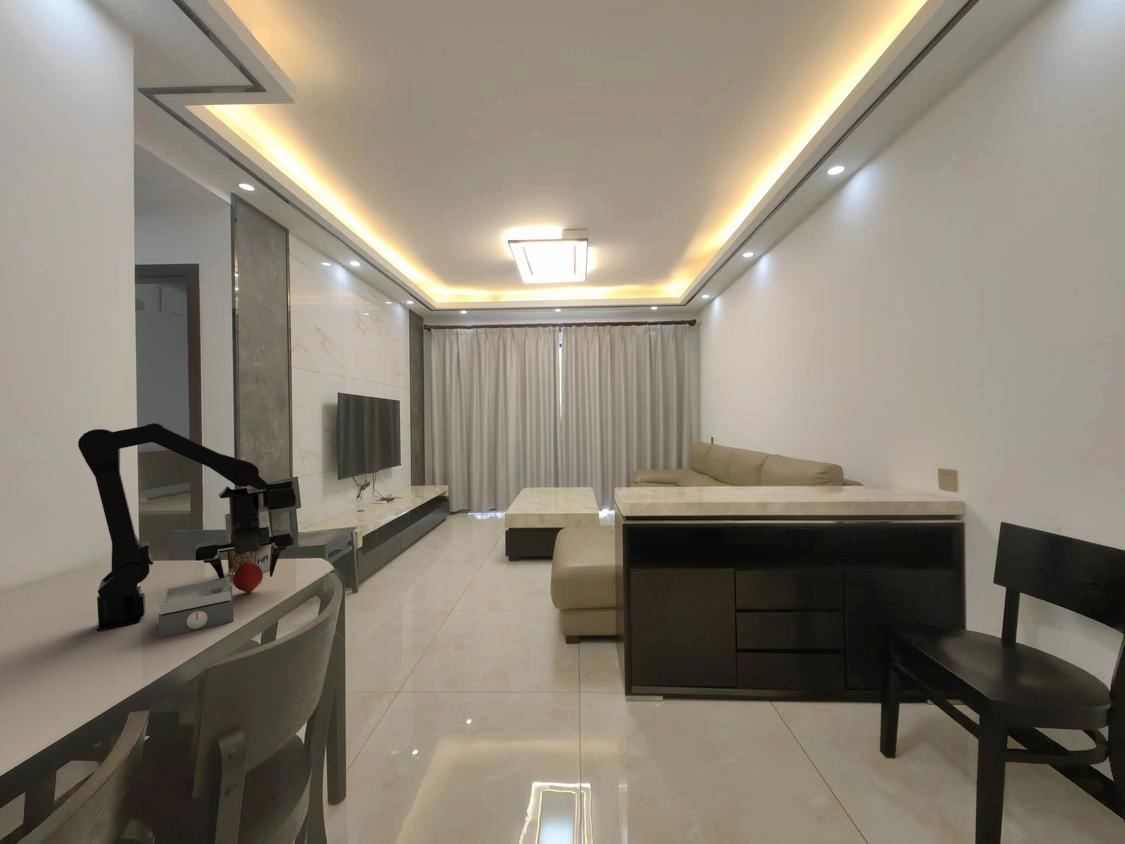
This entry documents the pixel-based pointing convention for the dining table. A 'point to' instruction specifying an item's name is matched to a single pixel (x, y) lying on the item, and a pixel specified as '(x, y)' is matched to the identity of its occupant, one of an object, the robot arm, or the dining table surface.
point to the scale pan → (195, 595)
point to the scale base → (195, 618)
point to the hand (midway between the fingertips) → (248, 581)
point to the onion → (247, 576)
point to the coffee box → (256, 557)
